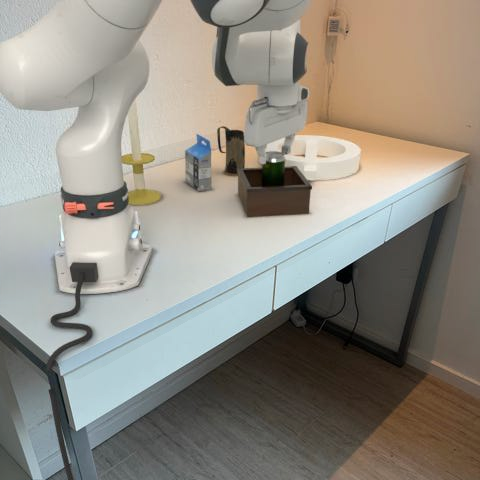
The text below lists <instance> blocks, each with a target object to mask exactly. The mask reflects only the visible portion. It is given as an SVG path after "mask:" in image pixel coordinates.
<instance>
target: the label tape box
mask: <svg viewBox="0 0 480 480" xmlns="http://www.w3.org/2000/svg"><path fill="white" fill-rule="evenodd" d="M203 142H204V143H205V144H204V143H203ZM184 166H185V168H184V169H185V171H184V173H185V183H187V184H188V185H189V186H191V187H192V188H194V189H195V190H197V191H198V192H205V191H210V190H212V145H211V141H210V139H207V138H205V137H204V136H202V135H201V134H198V133H196V143H195V144H193V145H192V146H190V147H188V148H186V149H185V150H184Z"/></svg>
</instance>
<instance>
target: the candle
mask: <svg viewBox="0 0 480 480" xmlns="http://www.w3.org/2000/svg"><path fill="white" fill-rule="evenodd" d="M127 119H128V129H129V139H130V147H131V153H127V154H122V165H127V166H132V172H133V183H134V190H131V191H128V194H129V195H128V198H129V203H128V204H129V205H130V206H146V205H147V206H148V205H151V204H154V203H157V202H159V201H160V200H161V199H162V194H161V193H160V192H158V191H155V190H152V189H146V182H145V172H144V171H145V170H144V165H148V164H150V163H153V162H154V161H155V160H156V158H155V157H156V156H155V155H153V154H151V153H147V152H142V150H141V141H140V131H139V120H138V109H137V98H136V99H135V100H134V102H133V103H132V105H131V107H130V109H129V111H128V114H127Z"/></svg>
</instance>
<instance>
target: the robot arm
mask: <svg viewBox="0 0 480 480" xmlns="http://www.w3.org/2000/svg"><path fill="white" fill-rule="evenodd" d="M162 1H163V0H58V1H57V3H56V4H54V6H53V7H52V8H51V9H50V10H49V11H48V12H46V13H45V14H44V15H43V16H42V17H41V18H40V19H39V20H38V21H36V22H35V23H33V24H32V25H31V26H30V27H28V28H27V29H26V30H24V31H23V32H20V33H18V34H17V35H15V36H12V37H10V38H8V39H5V40H2V41H1V42H0V94H1V95H2V96H3V98H4V99H5V100H6V101H7V102H8V103H9V104H10V105H11V106H13V107H14V108H16V109H18V110H24V111H36V112H37V111H38V112H52V111H61V110H66V109H73V108H78V109H77V114H76V117H75V119H74V121H73V122H72V124H71V125H70V126H69V127H68V128H66V130H65V131H63V132H62V133H61V134H60V136H59V138H58V139H57V142H56V146H55V156H56V160H57V165H58V172H59V176H60V182H61V187H60V201H61V203H62V204H61V205H62V210H63V211H62V212H61V213H60V214H59V215H58V219H59V224H60V233H61V234H60V235H61V240H60V241H59V243H58V244H59V248H60V249H58V250H56V251H55V252H54V261H55V262H54V263H55V269H56V275H57V284H58V289H59V291H60V292H63V293H66V294H74V301H75V305H74V308H72V309H70V310H68V311H65V312H59V313H56V314H53V315H52V316H51V317H50V323H51V325H52V326H54V327H56V328H61V329H63V328H64V329H77V330H78V329H79V330H84V331H85V332H86V334H85V335H83V336H80V337H79V338H76V339H74V340H71V341H69V342H66V343H64V344H63V345H61V346H59V347H57V348H56V349H55V350H54V351H53V352H52V354H51V355H50V356H49V358H48V360H47V362H46V366H45V371H46V372H49V371H51V370H52V369H53V365H54V363H55V361H56V359H57V358H58V357H59V356H61V354H62V353H64V352H66V351H68V350H69V349H72V348H74V347H76V346H78V345H81V344H83V343H85V342H87V341H89V339H91V337H92V336H93V329H92V327H91V326H89V325H88V324H84V323H77V322H63V321H58V320H60V319H65V318H69V317H72V316H74V315H76V314H77V313H78V312H79V311H80V309H81V304H82V303H81V295H93V294H94V295H97V294H109V293H115V292H117V293H118V292H122V291H126V290H130V289H133V288H135V287H138V286H139V285H140V284H141V280H142V278H143V277H144V276H143V275H144V273H145V271H146V268H147V267H148V264H149V261H150V259H151V256H152V254H153V247H152V246H151V244H147V243H144V242H143V239H142V231H141V223H140V218H139V217H140V216H139V212H138V211H137V209H135V208H134V207H132V205H130V204H128V203H129V198H128V195H129V194H128V192H129V188H128V185H127V182H126V181H125V179H124V168H123V163H122V156H123V154H122V153H123V152H122V137H123V131H124V126H125V122H126V120H127V118H128V111H129V109H130V107H131V105H132V103H133V102H134V100H135V99H136V100H137V97H138V96H139V95H140V94H141V93H142V92H143V91H144V89H145V88H146V87H147V84H148V81H149V78H150V61H149V60H150V59H149V57H148V53H147V51H146V49H145V47H144V45H143V44H142V42H141V40H140V39H141V37H142V36H143V34H144V32H145V31H146V29H147V28H148V26H149V24H150V23H151V21H152V20H153V18H154V16H155V15H156V13H157V11H158V9H159V8H160V5H161V3H162ZM189 1H190V3H191V5H192V7H193V8H194V11H195V12H196V14H197V15H198V16H199V19H201V21H203V22H204V23H206V24H208V25H210V26H213V27H216V34H215V35H216V36H215V40H214V42H213V46H212V50H211V65H212V70H213V73H214V76H215V77H216V79H217V80H218V81H219V82H220V83H222V85H224V86H225V87H235V86H256V87H257V89H256V90H257V93H256V96H257V97H256V99H254V100H252V102H251V104H250V106H249V107H248V109H247V112H246V115H245V121H244V131H243V132H244V142H245V146H247V147H252V148H255V151H256V154H257V156H258V158H257V159H258V161H257V162H258V163H259V164H260V165H262V164H266V163H268V158H269V155H266V151H265V149H266V148H267V144H269V143H271V142H274V141H276V140H279V139H282V138H284V137H285V141H284V145H283V146H282V151H281V152H282V153H284V154H286V155H287V154H289V153H291V146H292V143H293V141H294V138H295V136H296V134H297V133H300V132H302V131H304V130H305V127H306V125H307V119H308V108H309V107H308V101H307V100H308V99H310V89H309V88H308V87H305V86H303V85H301V84H300V80H301V79H302V78H304V76H305V75H306V74H307V73H308V72H307V54H308V53H307V51H308V45H309V42H308V41H307V40H306V38H305V37H304V36H303V35H302V29H301V27H302V26H301V18H303V16H304V15H305V14H306V12H307V11H308V9H309V7H310V5H311V3H312V0H189ZM56 393H57V392H56V389H55V387H52V388H50V389H48V394H49V398H50V404H51V410H52V416H53V421H54V427H55V431H56V436H57V442H58V446H59V451H60V454H61V460H62V463H63V467H64V471H65V474H66V477H67V480H74V476H73V472H72V468H71V464H70V460H69V457H68V452H67V451H68V450H67V447H66V443H65V438H64V433H63V429H62V423H61V417H60V411H59V405H58V399H57V394H56Z"/></svg>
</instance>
